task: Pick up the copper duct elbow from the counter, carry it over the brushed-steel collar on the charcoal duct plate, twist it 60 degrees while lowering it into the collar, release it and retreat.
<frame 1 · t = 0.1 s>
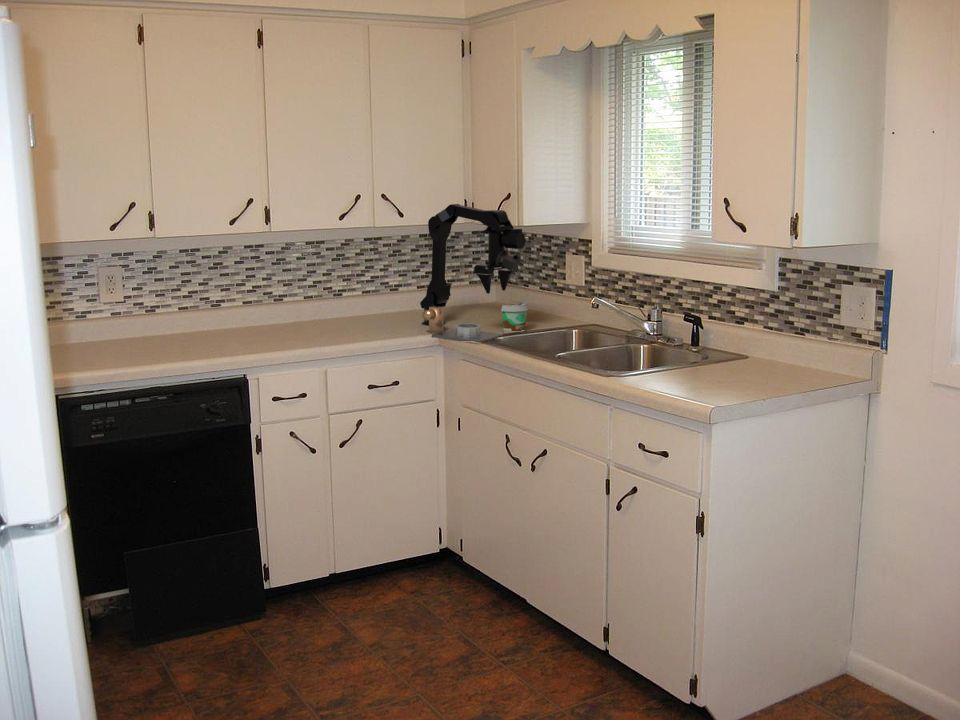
hand: (496, 291, 347), 15 cm above the worktop, fingers open, 9 cm apart
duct: (467, 337, 342), on the worktop
elbow: (436, 332, 351), on the worktop
food container: (518, 332, 353), on the worktop
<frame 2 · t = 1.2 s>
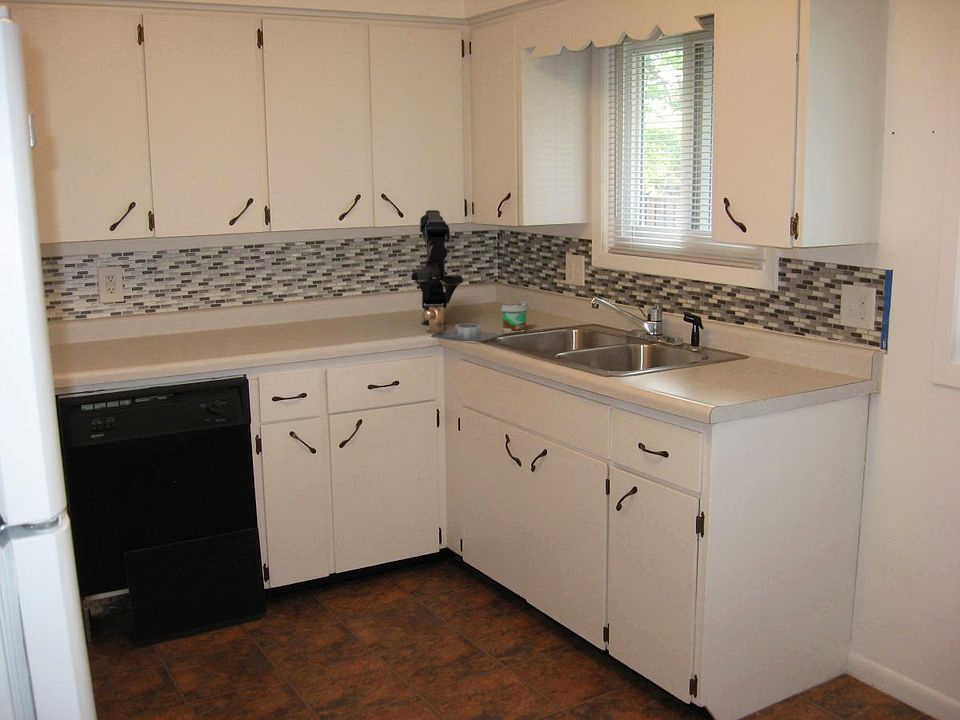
hand: (436, 302, 348), 11 cm above the worktop, fingers open, 9 cm apart
nothing on the worktop moved.
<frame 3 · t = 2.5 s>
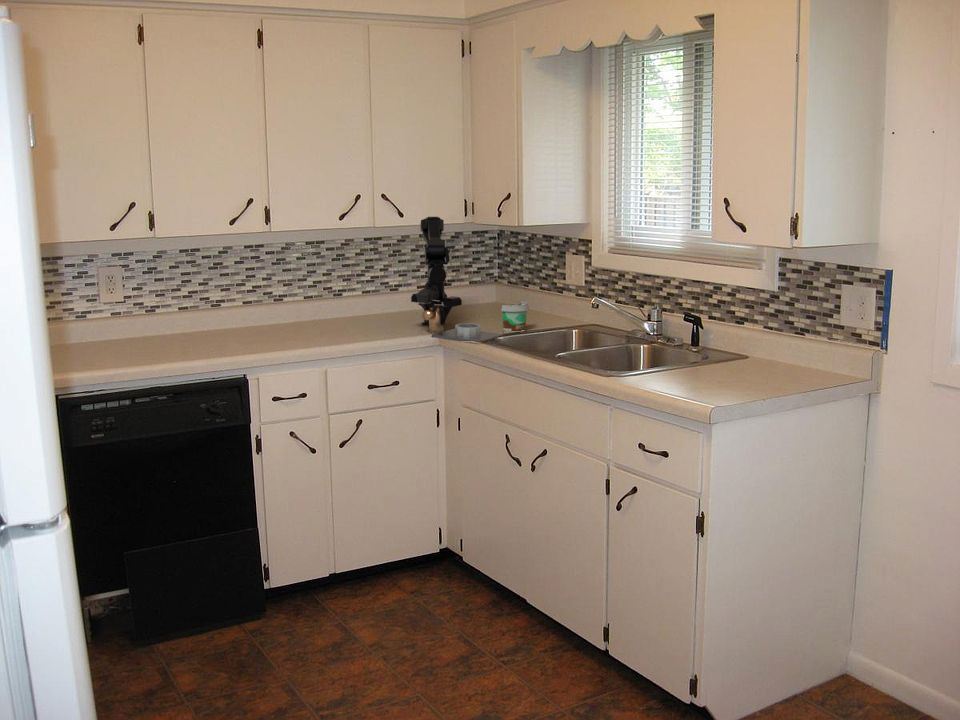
hand: (436, 323, 350), 3 cm above the worktop, fingers closed on elbow, 5 cm apart
elbow: (436, 332, 351), on the worktop, touching gripper
everything else where it was.
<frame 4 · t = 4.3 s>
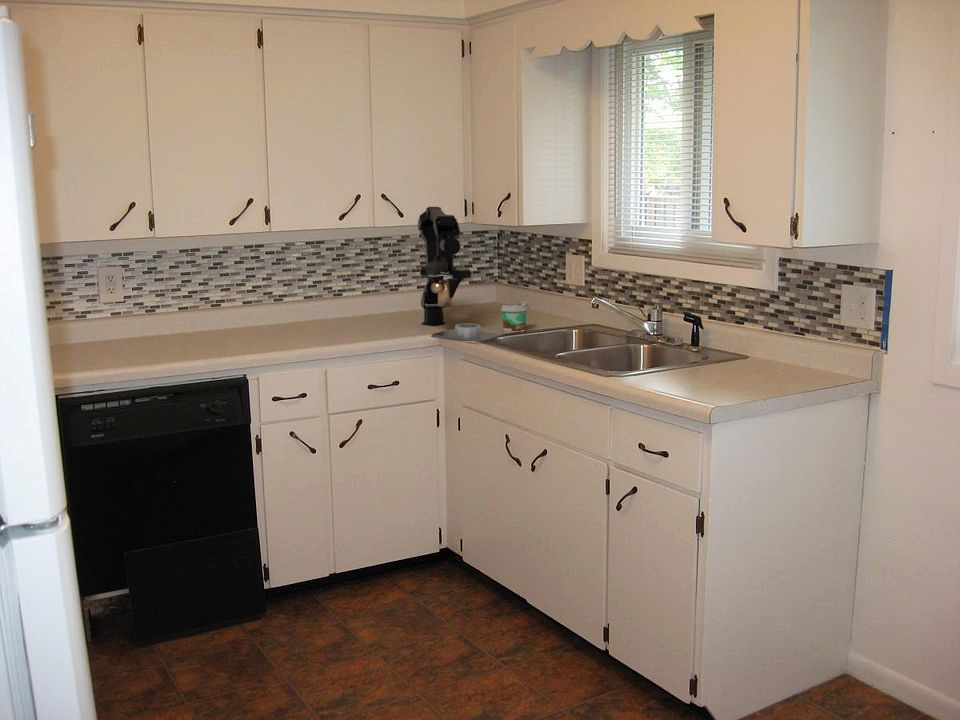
hand: (445, 297, 345), 13 cm above the worktop, fingers closed on elbow, 5 cm apart
elbow: (445, 305, 346), point 10 cm above the worktop, touching gripper
everything else where it was.
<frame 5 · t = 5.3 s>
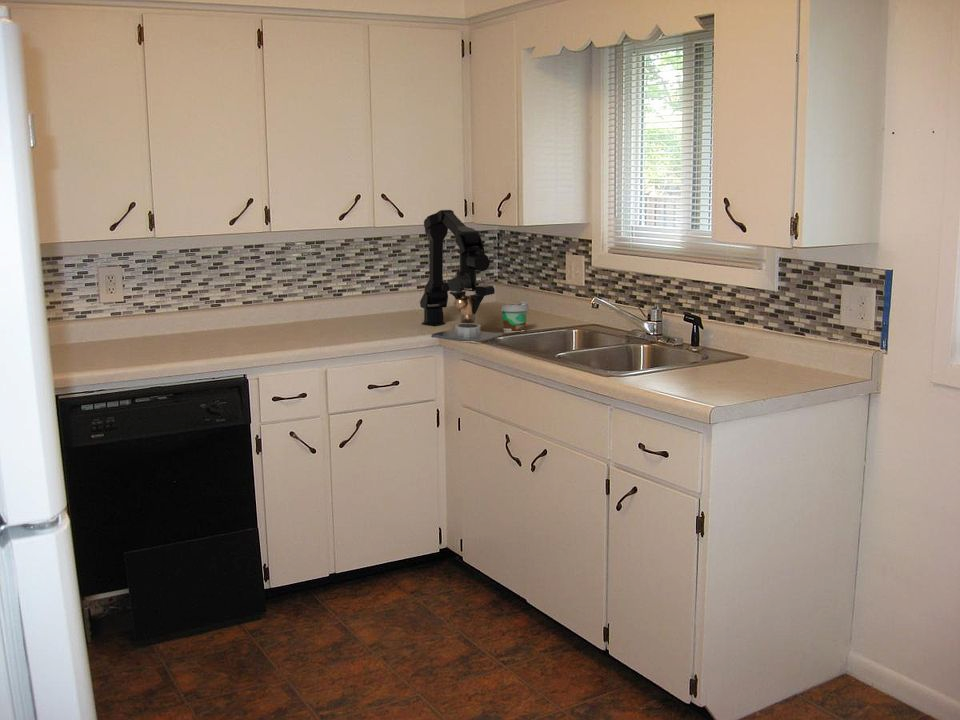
hand: (467, 313, 341), 8 cm above the worktop, fingers closed on elbow, 5 cm apart
elbow: (467, 321, 341), point 5 cm above the worktop, touching gripper
everything else where it was.
when the fingers open (5 cm above the worktop, at t = 6.3 s): elbow drops 1 cm, resting on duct.
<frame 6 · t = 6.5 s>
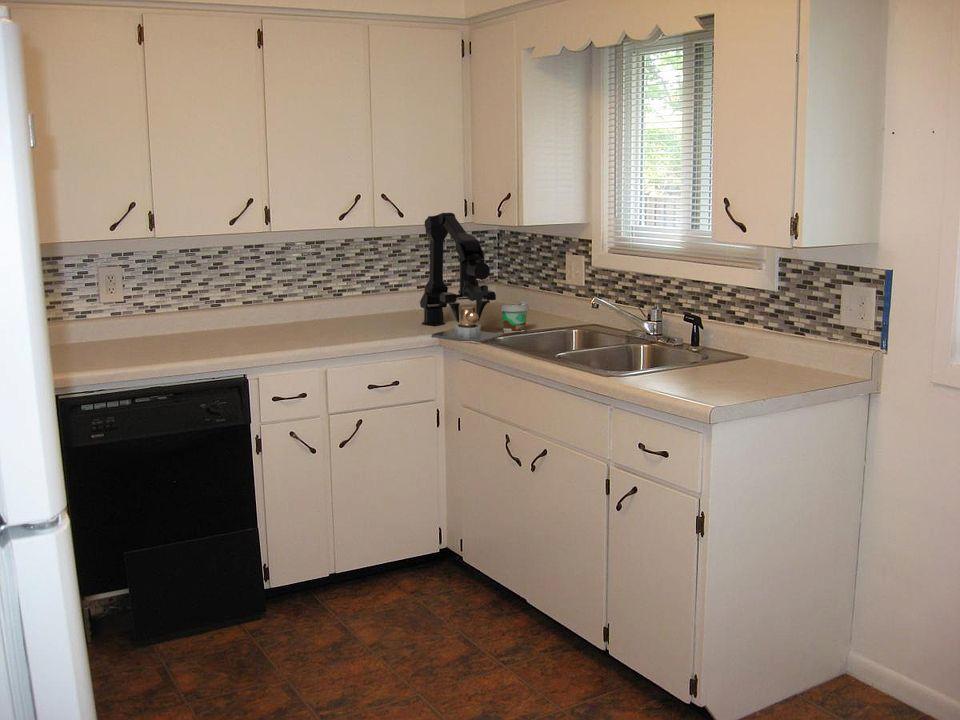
hand: (467, 321, 341), 5 cm above the worktop, fingers open, 7 cm apart
elbow: (467, 333, 342), point 1 cm above the worktop, touching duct
everything else where it was.
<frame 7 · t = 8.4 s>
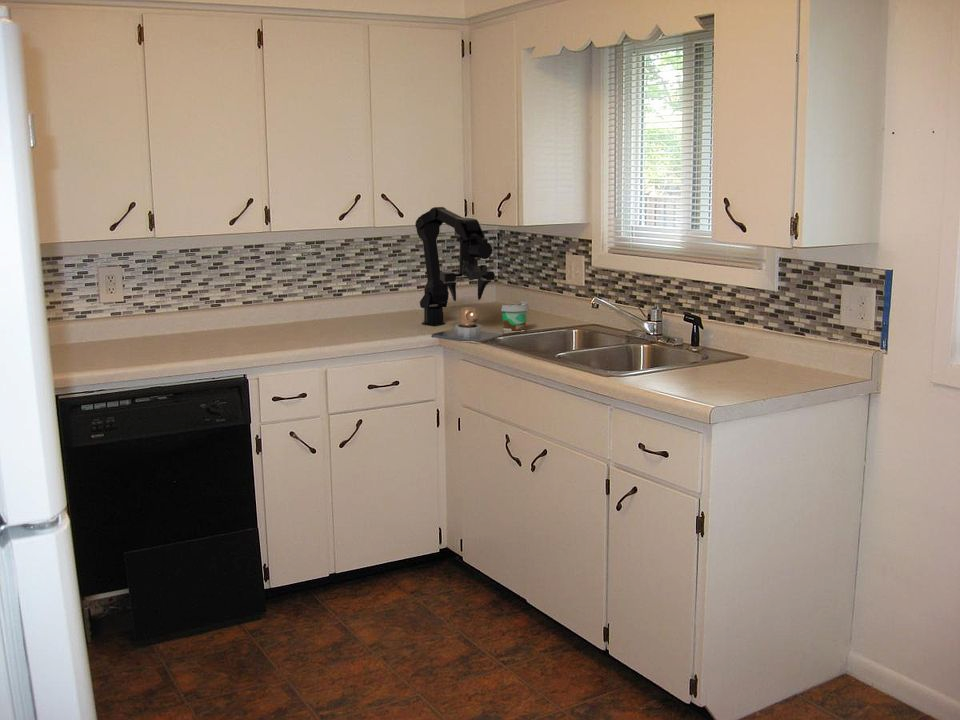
hand: (467, 300, 347), 12 cm above the worktop, fingers open, 9 cm apart
nothing on the worktop moved.
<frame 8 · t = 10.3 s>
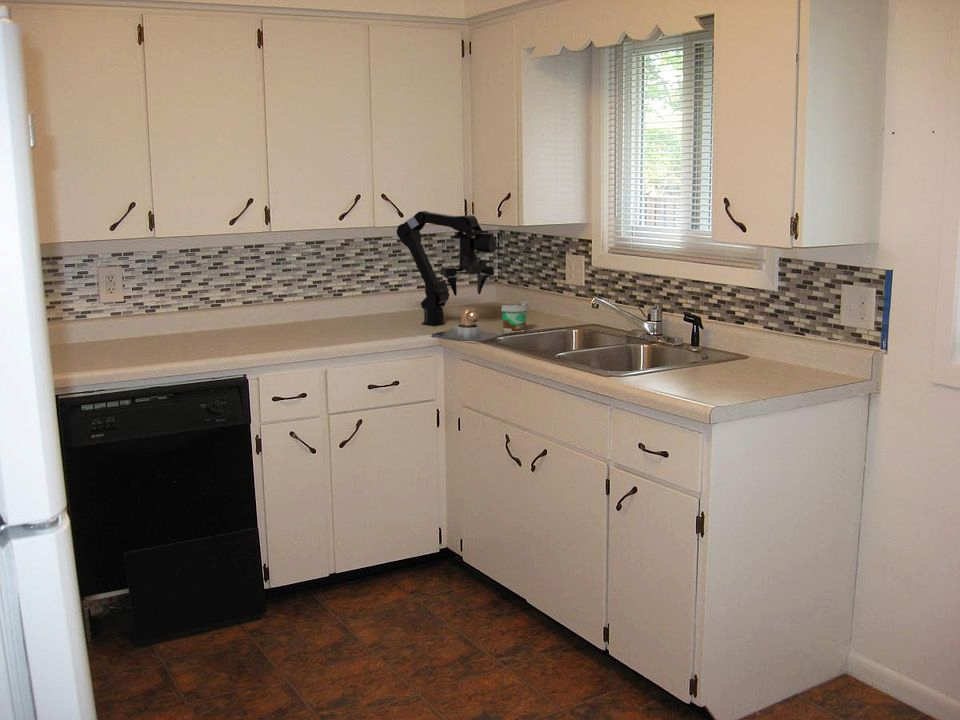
hand: (467, 294, 357), 12 cm above the worktop, fingers open, 9 cm apart
nothing on the worktop moved.
at the end: elbow 0.0 cm off-centre on the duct, point 1.0 cm above the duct's base; elbow tilted 0°; the gripper is holding nothing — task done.
